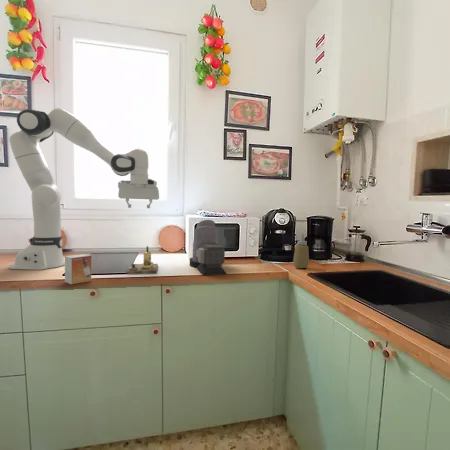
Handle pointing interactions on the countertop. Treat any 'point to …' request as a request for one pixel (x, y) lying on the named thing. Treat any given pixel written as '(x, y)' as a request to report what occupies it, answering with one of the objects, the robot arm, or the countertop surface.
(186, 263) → the countertop surface
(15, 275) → the countertop surface
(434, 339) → the countertop surface
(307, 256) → the squeeze bottle
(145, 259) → the brass pinion
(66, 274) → the small box
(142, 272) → the gear board
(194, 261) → the juicer
